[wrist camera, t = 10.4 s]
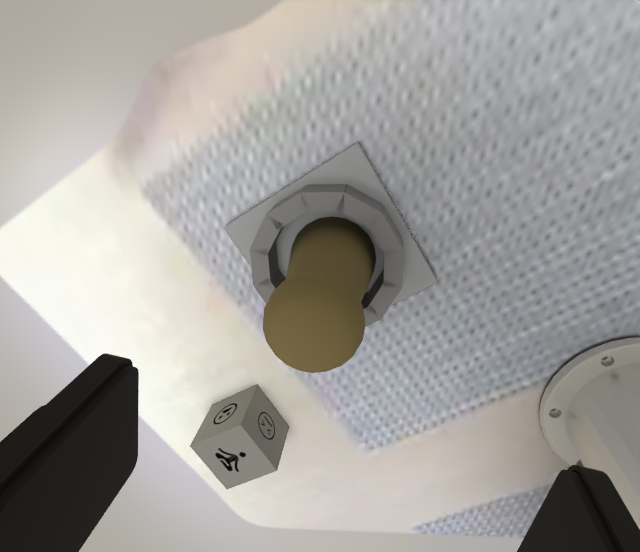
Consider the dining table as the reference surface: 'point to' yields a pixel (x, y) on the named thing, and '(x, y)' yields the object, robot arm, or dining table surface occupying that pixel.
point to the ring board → (339, 201)
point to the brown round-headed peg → (321, 296)
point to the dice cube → (241, 437)
